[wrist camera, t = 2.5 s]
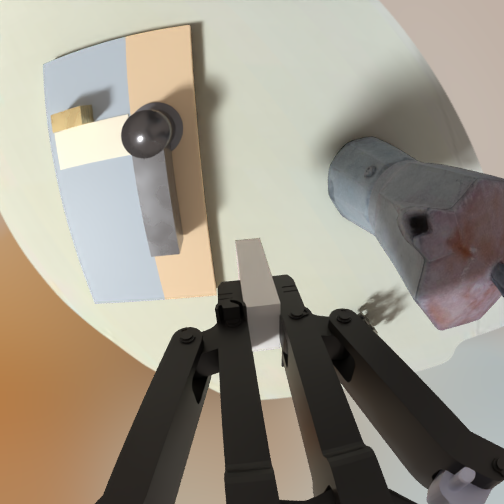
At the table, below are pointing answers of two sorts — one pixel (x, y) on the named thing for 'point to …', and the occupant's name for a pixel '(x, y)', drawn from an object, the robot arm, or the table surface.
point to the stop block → (72, 118)
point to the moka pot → (427, 225)
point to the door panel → (129, 165)
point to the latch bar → (155, 178)
